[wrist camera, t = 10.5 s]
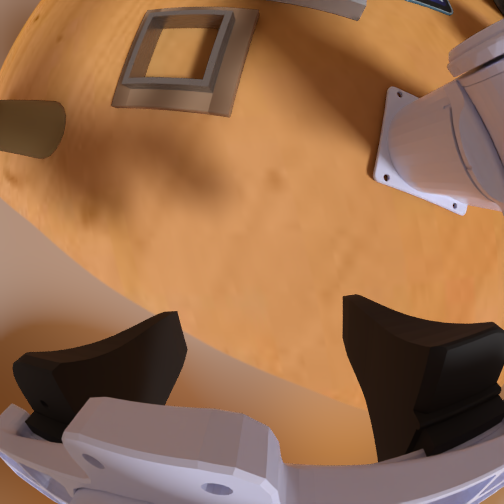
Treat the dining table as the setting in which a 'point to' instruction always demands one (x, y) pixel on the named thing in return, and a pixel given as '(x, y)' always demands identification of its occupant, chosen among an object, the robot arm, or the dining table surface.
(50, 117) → the olive pepper mill
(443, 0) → the smartphone
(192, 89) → the collar stand
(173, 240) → the dining table surface
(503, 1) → the pitcher
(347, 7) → the tray
